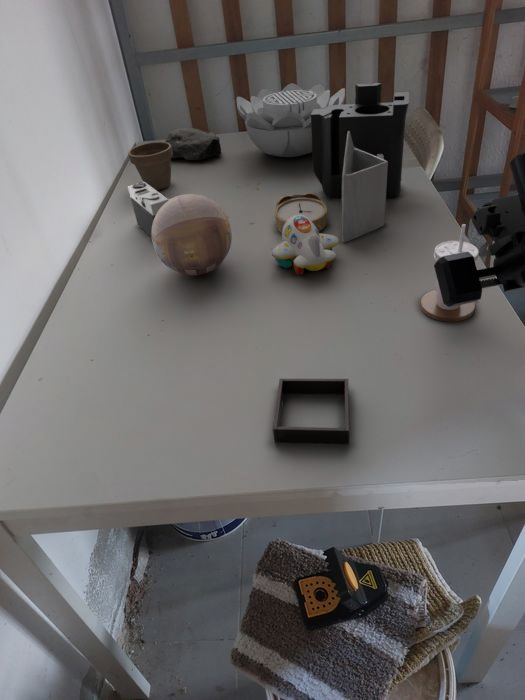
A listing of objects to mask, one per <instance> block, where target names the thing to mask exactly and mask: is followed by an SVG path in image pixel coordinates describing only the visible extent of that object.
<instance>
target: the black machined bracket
mask: <svg viewBox="0 0 525 700" xmlns="http://www.w3.org/2000/svg"><path fill="white" fill-rule="evenodd" d="M354 89H355V90H354V91H355V97H354V103H346V104H345V103H344V104H343V105H332V106H328V107H325V108H323V109H314V110H313V112H312V113H311V131H312V152H311V153H312V154H311V155H312V156H311V157H312V172H313V173H314V176H316V178H317V180H318V181H319V183H320V185H321V188H322V191H323V193H324V195H325V197H327V198H330V199H342V174H343V166H344V157H345V148H346V140H347V132H348V131H350V134H351V138H352V142H353V145H354V147H355V148H357V149H359V150H362V151H364V152H367V153H369V154H372V155H374V156H377V157H378V155H382V156H383V159H384V160H386V161H388V168H387V187H386V199H392V198H394V197H396V196H398V195H399V194H400V192H401V186H402V172H403V170H402V169H403V157H404V145H405V132H406V131H405V130H406V118H407V112H408V108H409V103H410V92H409V91H401V92H400V91H398V92H396V91H395V92H394V96H393V97H394V98H393V99H394V100H393V102H392V101H391V102H382V96H381V95H382V83H380V82H373V83H371V84H369V83H368V84H367V83H366V84H364V83H357V84H355V86H354Z"/></svg>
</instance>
